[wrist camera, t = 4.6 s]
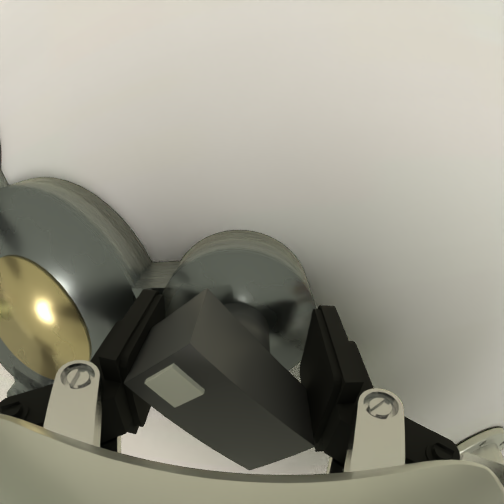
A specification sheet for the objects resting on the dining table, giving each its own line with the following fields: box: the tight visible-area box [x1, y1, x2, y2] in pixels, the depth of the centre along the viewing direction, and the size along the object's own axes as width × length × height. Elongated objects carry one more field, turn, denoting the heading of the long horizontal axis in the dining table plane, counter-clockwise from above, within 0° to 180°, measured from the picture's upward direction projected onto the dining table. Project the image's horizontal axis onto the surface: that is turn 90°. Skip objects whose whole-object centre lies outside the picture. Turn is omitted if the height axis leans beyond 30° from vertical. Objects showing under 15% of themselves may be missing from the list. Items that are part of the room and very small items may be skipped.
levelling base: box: [0, 147, 316, 397], centre depth 13 cm, size 23×21×3 cm
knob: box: [124, 288, 315, 470], centre depth 9 cm, size 5×2×4 cm, turn 38°
